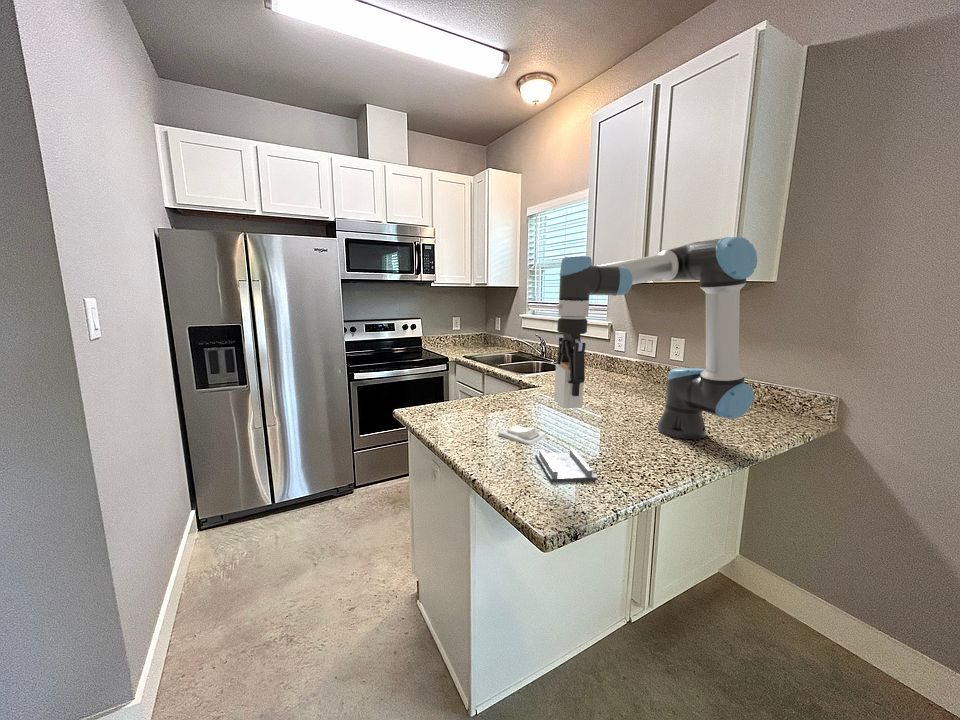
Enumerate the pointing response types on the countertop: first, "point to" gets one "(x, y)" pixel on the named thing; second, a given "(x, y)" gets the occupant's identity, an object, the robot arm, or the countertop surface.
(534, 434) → the light switch
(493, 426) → the countertop surface
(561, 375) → the block
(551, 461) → the rail
